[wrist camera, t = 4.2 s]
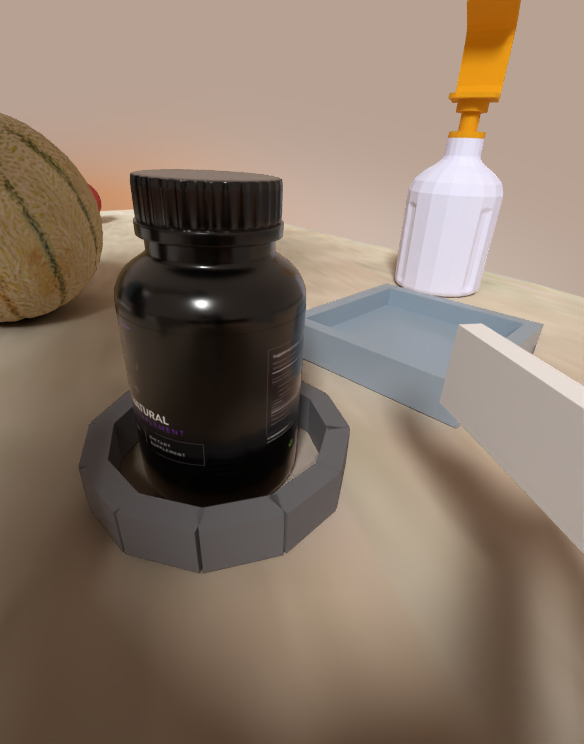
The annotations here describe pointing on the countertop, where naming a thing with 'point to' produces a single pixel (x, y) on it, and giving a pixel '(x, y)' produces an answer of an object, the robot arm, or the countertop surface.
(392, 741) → the countertop surface
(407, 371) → the tray
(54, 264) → the cantaloupe
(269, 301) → the supplement bottle
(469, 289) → the soap bottle
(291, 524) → the holster ring
